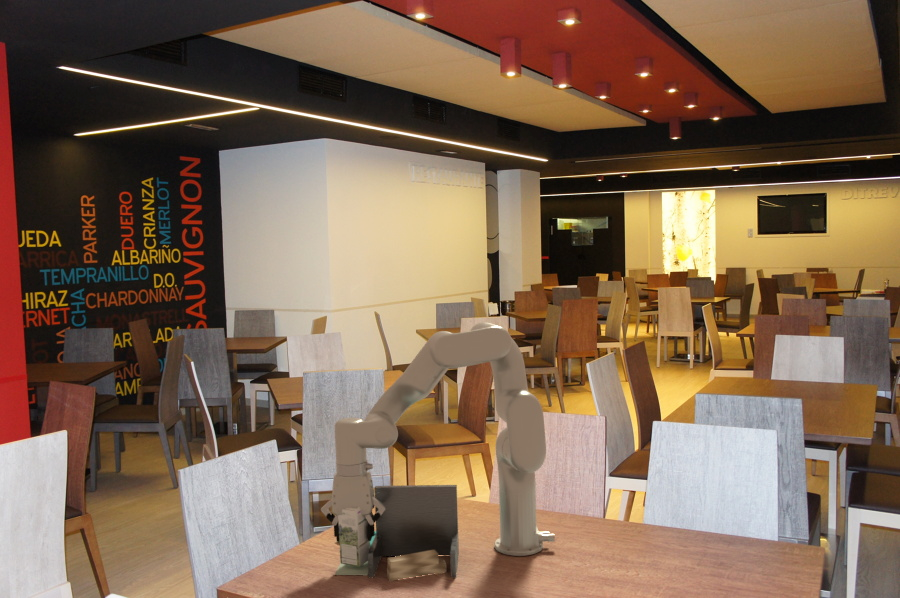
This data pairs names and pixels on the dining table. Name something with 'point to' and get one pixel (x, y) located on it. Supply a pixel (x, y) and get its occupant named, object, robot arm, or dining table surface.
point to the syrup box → (353, 537)
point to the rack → (416, 523)
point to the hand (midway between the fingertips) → (354, 538)
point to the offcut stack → (415, 565)
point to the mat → (352, 569)
